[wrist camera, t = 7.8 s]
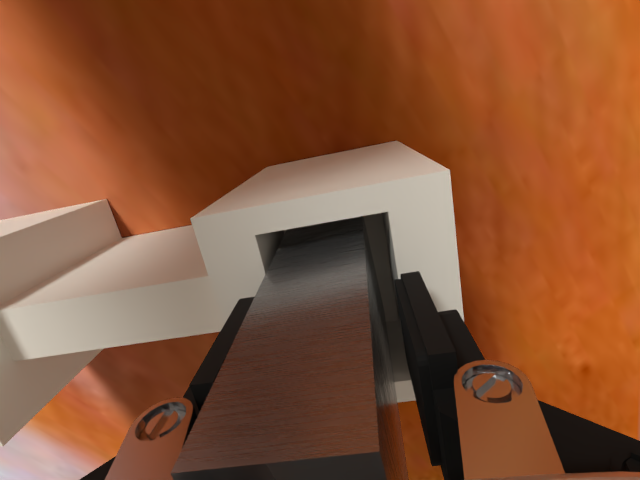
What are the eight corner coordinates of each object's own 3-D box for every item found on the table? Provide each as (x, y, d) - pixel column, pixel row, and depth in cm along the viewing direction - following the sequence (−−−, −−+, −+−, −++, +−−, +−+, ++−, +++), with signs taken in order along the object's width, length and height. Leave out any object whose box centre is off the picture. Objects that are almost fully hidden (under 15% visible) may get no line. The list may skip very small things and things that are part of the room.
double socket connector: (1, 219, 25) (-276, 306, 14) (396, 140, 22) (449, 169, 11) (50, 321, 28) (-153, 463, 17) (413, 263, 24) (471, 394, 13)
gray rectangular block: (290, 221, 15) (170, 473, 5) (361, 206, 15) (379, 451, 5) (319, 322, 17) (272, 657, 7) (384, 311, 17) (433, 655, 7)
